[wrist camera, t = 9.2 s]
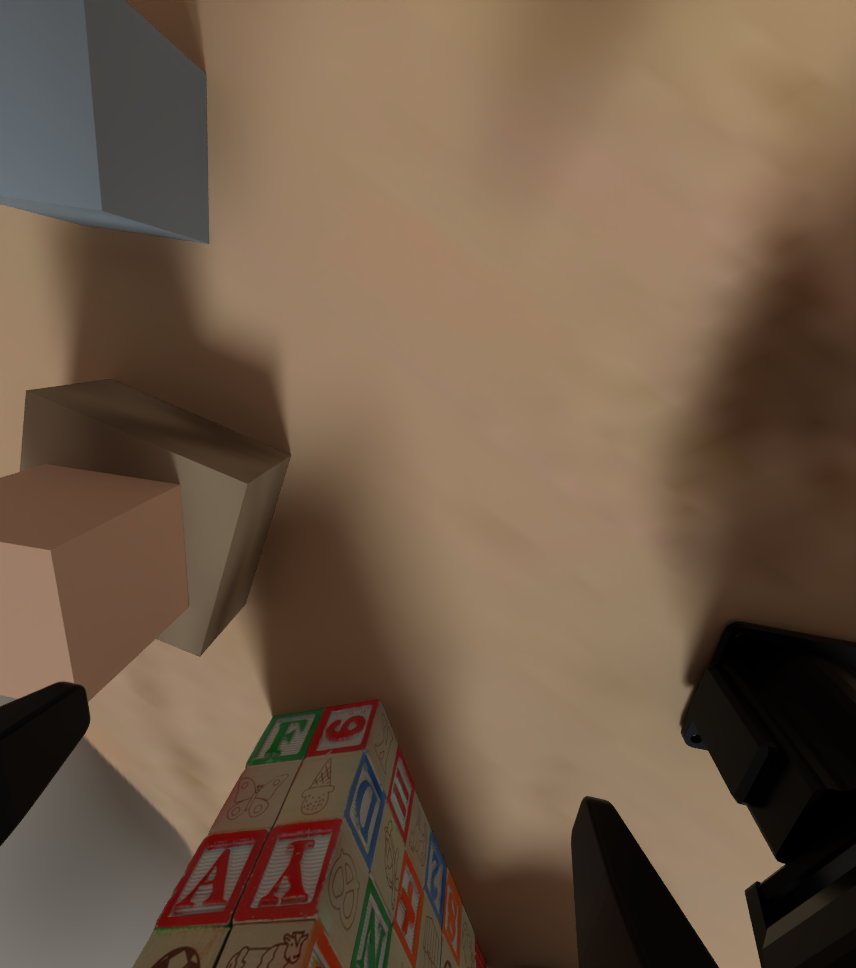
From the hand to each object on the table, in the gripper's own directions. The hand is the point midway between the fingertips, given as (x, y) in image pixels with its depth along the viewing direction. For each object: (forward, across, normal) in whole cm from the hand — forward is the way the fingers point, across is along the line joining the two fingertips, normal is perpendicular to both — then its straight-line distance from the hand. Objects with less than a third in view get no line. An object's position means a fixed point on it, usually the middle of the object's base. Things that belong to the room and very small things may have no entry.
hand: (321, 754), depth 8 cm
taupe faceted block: (+12, +11, +1) cm, 16 cm away
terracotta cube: (+8, +10, +2) cm, 13 cm away
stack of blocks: (+12, -1, +21) cm, 24 cm away
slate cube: (+12, +11, -12) cm, 20 cm away
